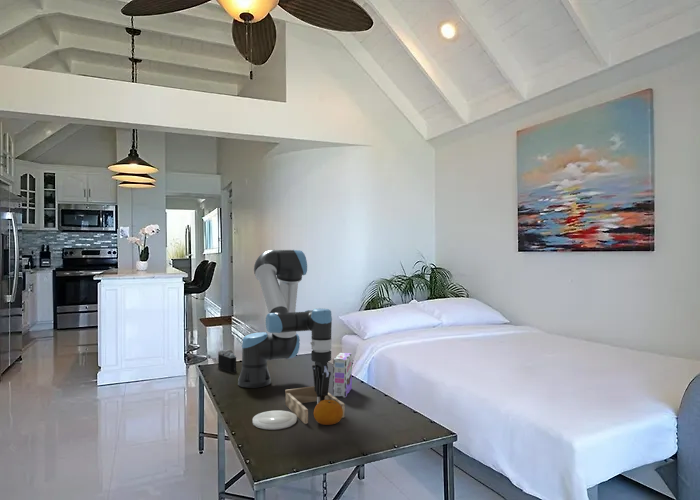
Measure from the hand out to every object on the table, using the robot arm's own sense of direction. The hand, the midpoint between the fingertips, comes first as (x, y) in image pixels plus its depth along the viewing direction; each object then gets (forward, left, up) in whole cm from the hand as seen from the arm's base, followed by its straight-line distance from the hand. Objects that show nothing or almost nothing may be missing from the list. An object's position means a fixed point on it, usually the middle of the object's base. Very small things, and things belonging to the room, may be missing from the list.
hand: (320, 412), depth 173 cm
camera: (-87, -17, -2) cm, 88 cm away
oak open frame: (-8, 0, -2) cm, 8 cm away
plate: (-3, -17, -2) cm, 17 cm away
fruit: (+7, 0, -2) cm, 7 cm away
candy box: (-24, +20, -2) cm, 31 cm away
